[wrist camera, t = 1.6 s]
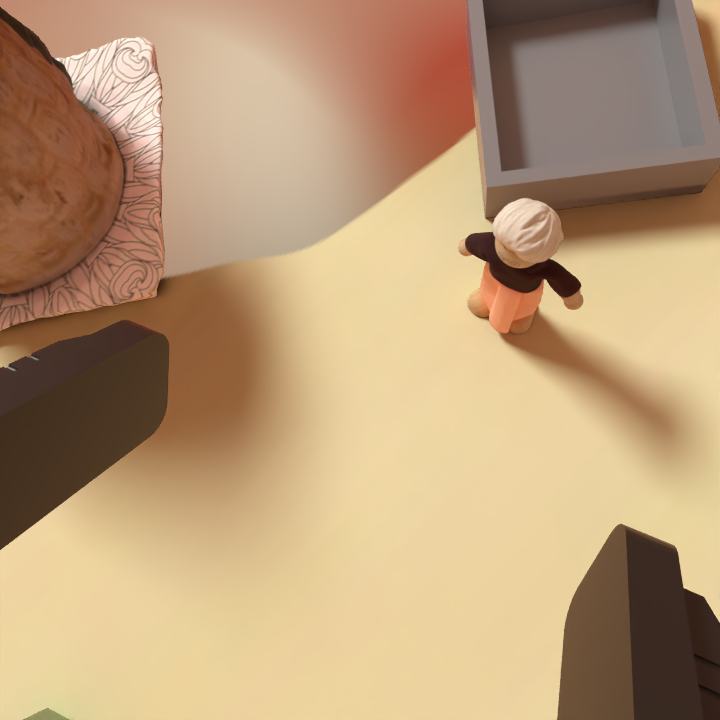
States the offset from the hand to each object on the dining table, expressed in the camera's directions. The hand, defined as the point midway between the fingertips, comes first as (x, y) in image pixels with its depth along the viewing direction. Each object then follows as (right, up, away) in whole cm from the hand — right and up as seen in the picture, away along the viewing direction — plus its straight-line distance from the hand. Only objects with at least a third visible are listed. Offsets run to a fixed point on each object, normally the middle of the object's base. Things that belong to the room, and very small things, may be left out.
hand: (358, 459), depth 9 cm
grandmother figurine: (+10, +5, +28) cm, 30 cm away
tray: (+15, +20, +31) cm, 40 cm away
